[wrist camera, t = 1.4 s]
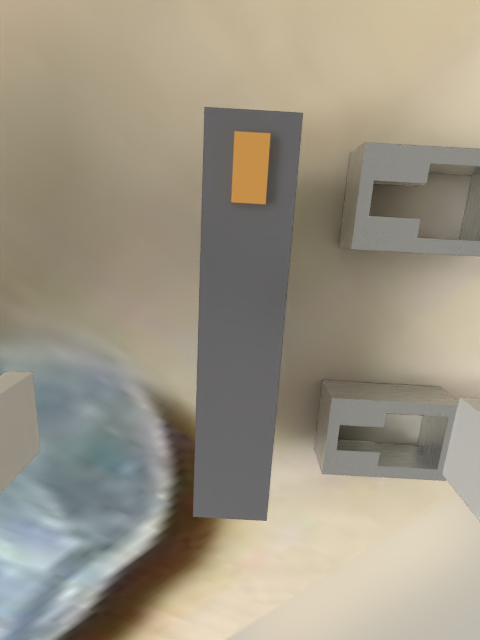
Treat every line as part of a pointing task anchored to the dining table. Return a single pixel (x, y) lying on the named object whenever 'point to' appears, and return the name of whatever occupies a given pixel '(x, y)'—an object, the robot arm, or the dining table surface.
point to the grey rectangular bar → (242, 304)
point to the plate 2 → (408, 170)
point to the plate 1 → (370, 410)
